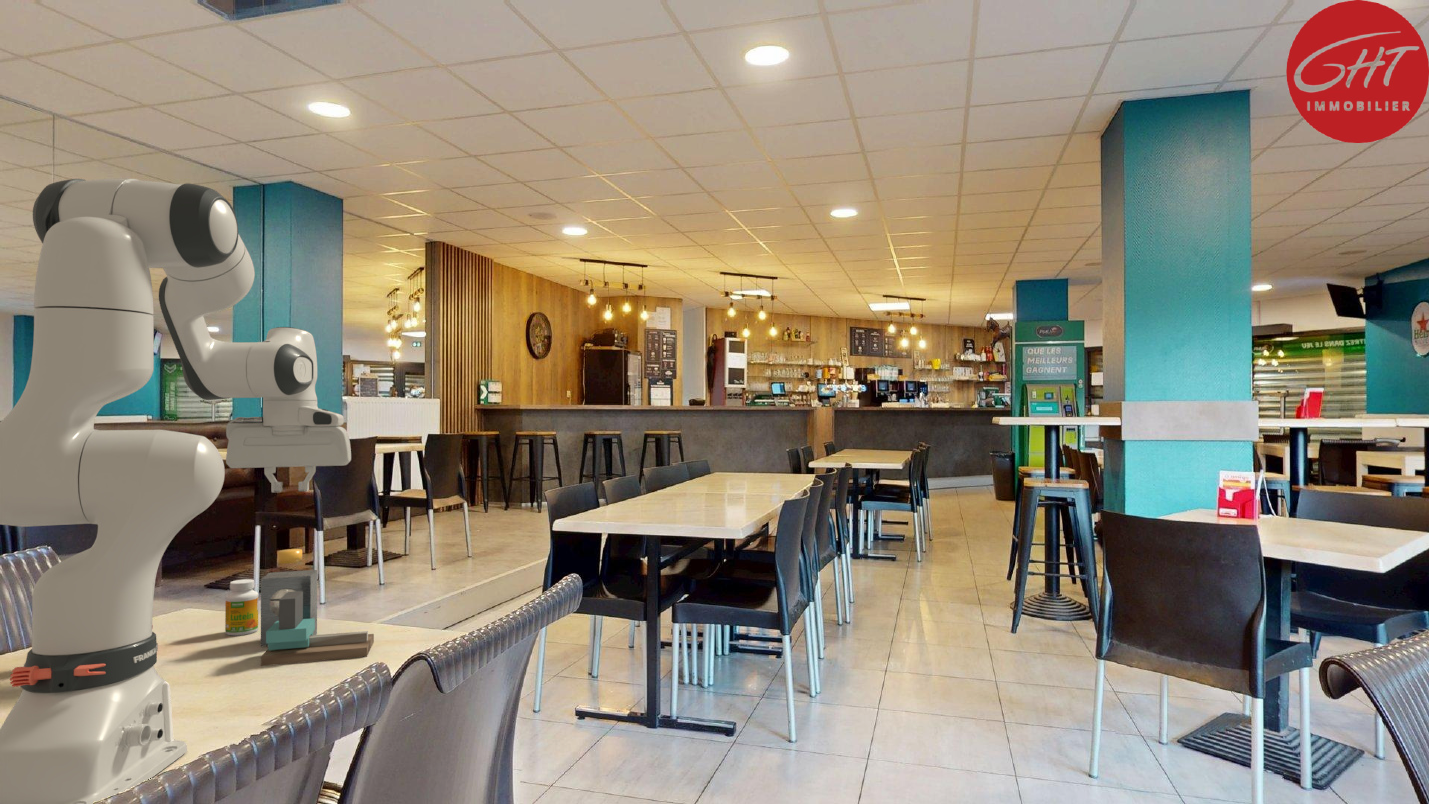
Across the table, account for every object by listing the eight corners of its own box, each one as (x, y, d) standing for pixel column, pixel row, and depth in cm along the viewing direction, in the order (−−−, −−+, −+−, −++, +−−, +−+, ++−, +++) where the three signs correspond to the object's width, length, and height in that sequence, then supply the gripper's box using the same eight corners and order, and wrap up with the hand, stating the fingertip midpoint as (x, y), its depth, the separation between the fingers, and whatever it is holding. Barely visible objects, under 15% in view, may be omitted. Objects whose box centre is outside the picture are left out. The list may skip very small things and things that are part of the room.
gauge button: (299, 562, 142) (299, 551, 142) (274, 564, 140) (275, 553, 140) (304, 559, 145) (304, 548, 145) (280, 560, 144) (280, 549, 144)
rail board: (366, 656, 132) (367, 638, 132) (260, 665, 127) (260, 647, 127) (373, 642, 141) (373, 625, 141) (274, 650, 136) (274, 633, 136)
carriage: (306, 649, 130) (306, 598, 130) (266, 652, 129) (266, 601, 129) (314, 638, 137) (314, 589, 137) (276, 641, 135) (276, 592, 135)
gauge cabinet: (309, 643, 140) (309, 576, 141) (259, 647, 138) (260, 579, 138) (316, 633, 147) (317, 569, 147) (269, 637, 144) (269, 572, 144)
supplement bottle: (226, 638, 144) (226, 585, 145) (224, 631, 149) (224, 580, 149) (259, 633, 148) (260, 581, 148) (256, 627, 152) (256, 577, 152)
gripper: (220, 417, 137) (220, 495, 137) (347, 416, 143) (347, 491, 143) (231, 417, 143) (231, 492, 143) (352, 416, 149) (352, 488, 149)
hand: (290, 491), depth 143 cm, fingers open, 3 cm apart
